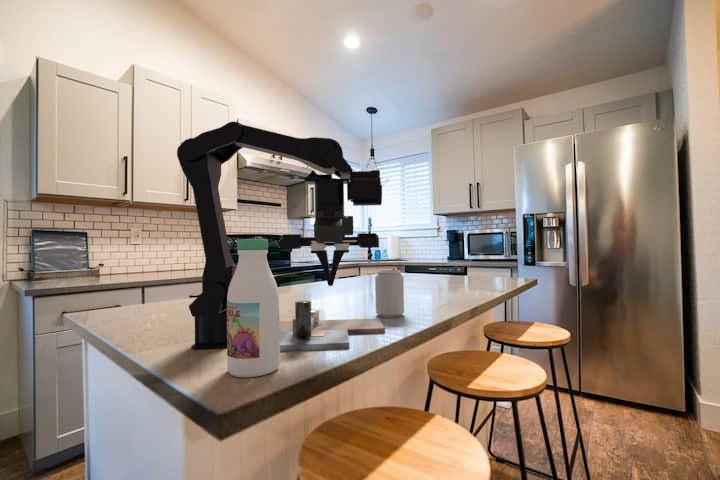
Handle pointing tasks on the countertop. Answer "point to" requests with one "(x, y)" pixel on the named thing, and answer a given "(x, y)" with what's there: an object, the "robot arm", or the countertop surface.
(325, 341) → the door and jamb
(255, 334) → the milk bottle
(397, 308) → the can
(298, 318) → the lock bar
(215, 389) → the countertop surface
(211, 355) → the countertop surface
